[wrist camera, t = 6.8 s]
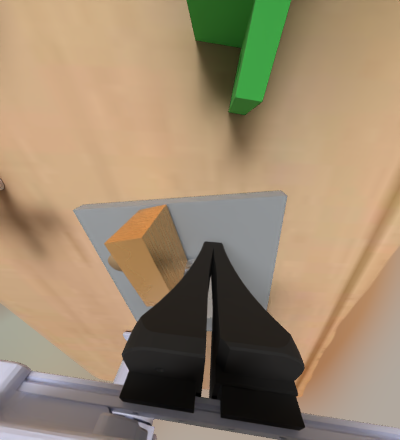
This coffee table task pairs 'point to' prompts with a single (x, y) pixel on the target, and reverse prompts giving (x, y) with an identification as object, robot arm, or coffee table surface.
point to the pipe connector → (1, 185)
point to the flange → (151, 255)
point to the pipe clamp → (243, 41)
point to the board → (201, 235)
